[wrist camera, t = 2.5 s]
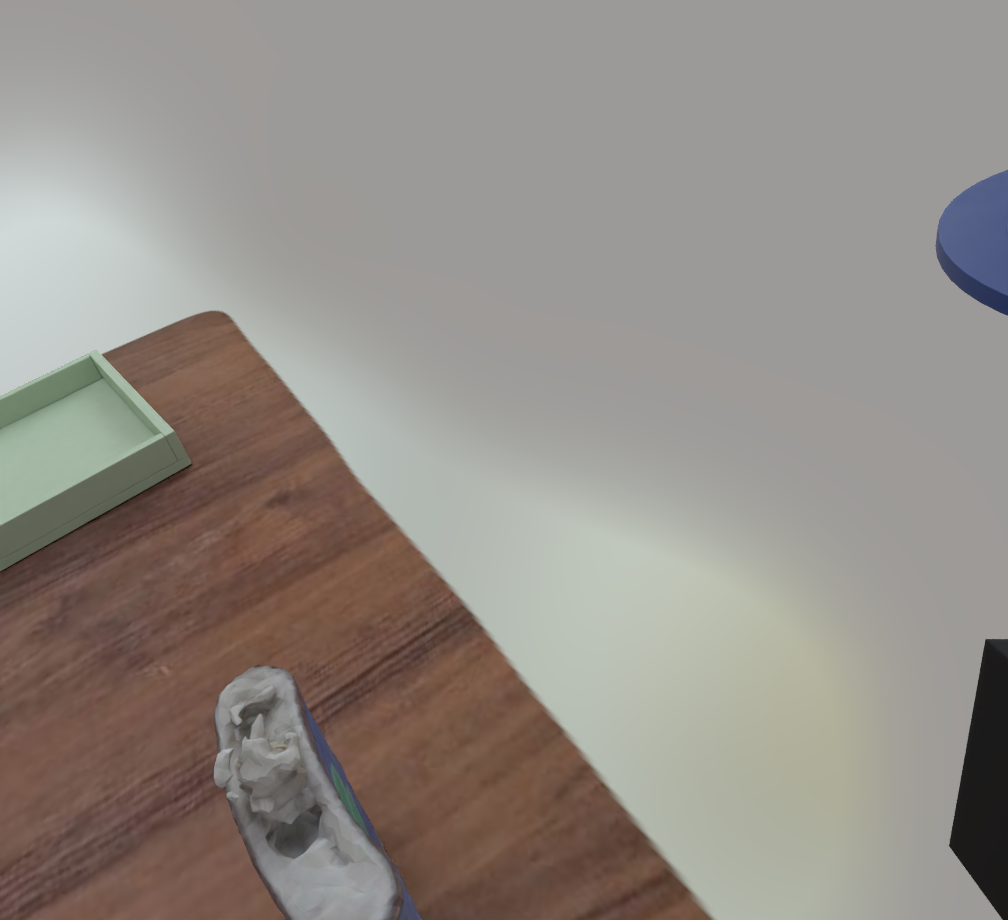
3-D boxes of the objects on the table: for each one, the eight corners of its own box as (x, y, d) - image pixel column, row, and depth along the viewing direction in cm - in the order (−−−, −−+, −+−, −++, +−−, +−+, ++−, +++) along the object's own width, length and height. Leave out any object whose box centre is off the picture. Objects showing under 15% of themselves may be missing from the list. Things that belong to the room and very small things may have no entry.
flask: (503, 1055, 24) (393, 867, 17) (410, 1130, 23) (255, 961, 16) (367, 806, 30) (251, 602, 24) (291, 856, 29) (149, 659, 23)
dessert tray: (112, 378, 60) (96, 349, 59) (192, 463, 50) (174, 430, 48) (-116, 492, 54) (-141, 463, 53) (-81, 617, 44) (-111, 584, 42)
